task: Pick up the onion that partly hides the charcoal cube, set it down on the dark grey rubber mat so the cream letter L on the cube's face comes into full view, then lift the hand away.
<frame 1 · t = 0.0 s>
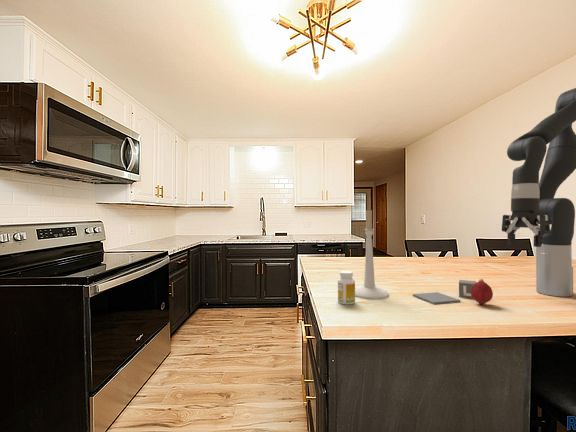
hand: (523, 245, 100), 17 cm above the worktop, tool pointing down, fingers open, 8 cm apart
marked cube: (467, 296, 101), on the worktop
onion: (481, 305, 91), on the worktop
candlestick: (369, 294, 104), on the worktop
supplement bottle: (346, 302, 94), on the worktop
mat: (435, 298, 98), on the worktop
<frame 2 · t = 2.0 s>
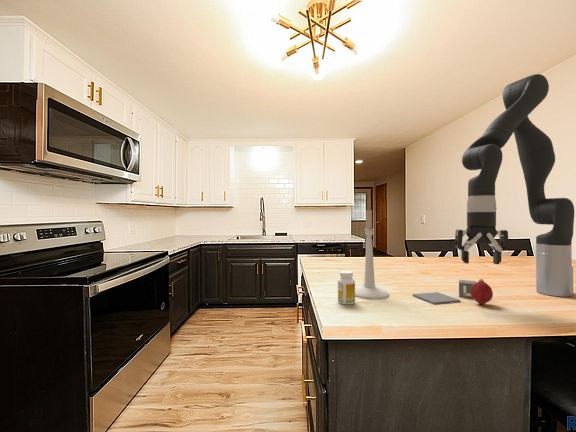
hand: (480, 263, 91), 13 cm above the worktop, tool pointing down, fingers open, 8 cm apart
nothing on the worktop moved.
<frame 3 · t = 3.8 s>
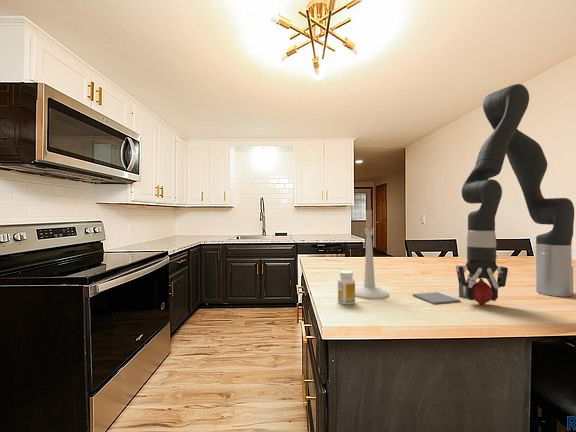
hand: (481, 299, 91), 2 cm above the worktop, tool pointing down, fingers closed on onion, 5 cm apart
onion: (481, 305, 91), on the worktop, touching gripper
everything else where it was.
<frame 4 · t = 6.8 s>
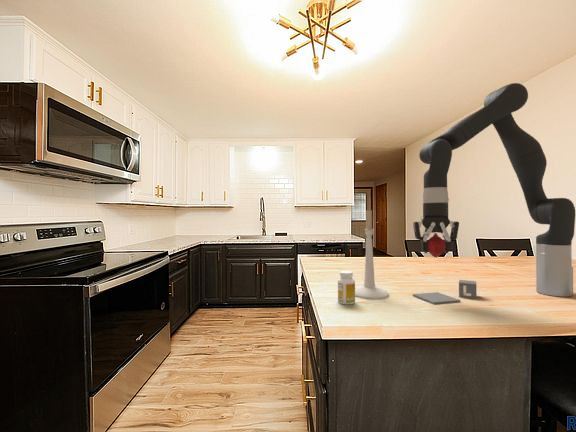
hand: (435, 252, 98), 15 cm above the worktop, tool pointing down, fingers closed on onion, 5 cm apart
onion: (435, 258, 98), point 13 cm above the worktop, touching gripper
everything else where it was.
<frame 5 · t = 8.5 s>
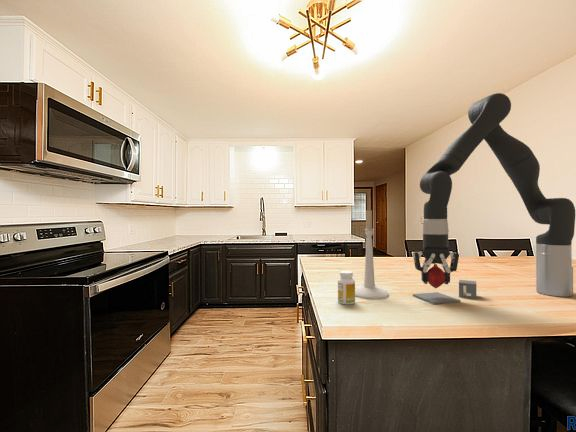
hand: (435, 283, 98), 5 cm above the worktop, tool pointing down, fingers closed on onion, 5 cm apart
onion: (435, 288, 98), point 3 cm above the worktop, touching gripper
everything else where it was.
when the fingers open (3 cm above the worktop, at t = 9.8 s): onion drops 1 cm, resting on mat.
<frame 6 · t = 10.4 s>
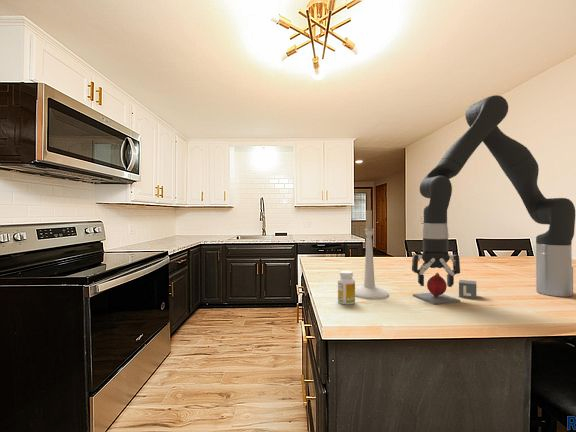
hand: (435, 286, 98), 4 cm above the worktop, tool pointing down, fingers open, 8 cm apart
onion: (436, 297, 98), resting on mat
everything else where it was.
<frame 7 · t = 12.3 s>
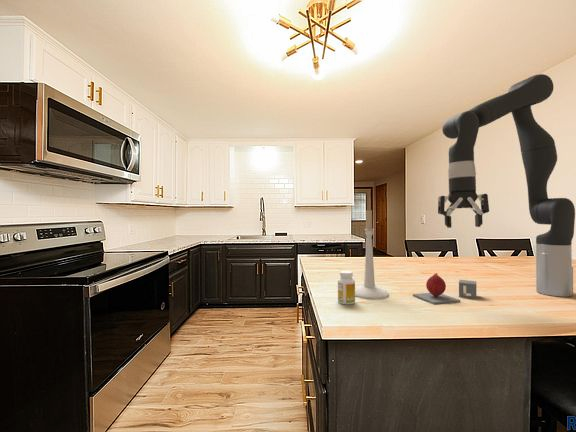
hand: (463, 227, 95), 24 cm above the worktop, tool pointing down, fingers open, 8 cm apart
nothing on the worktop moved.
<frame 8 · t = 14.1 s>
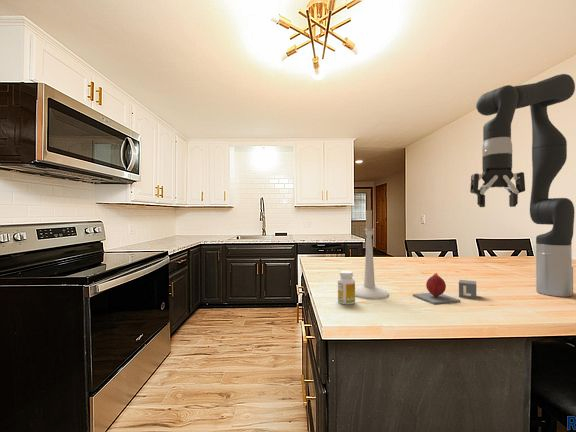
hand: (497, 206, 91), 30 cm above the worktop, tool pointing down, fingers open, 8 cm apart
nothing on the worktop moved.
at the end: onion inside the target area (0.1 cm from its centre), resting on mat; the gripper is holding nothing; marked cube moved 0.1 cm from its start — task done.
